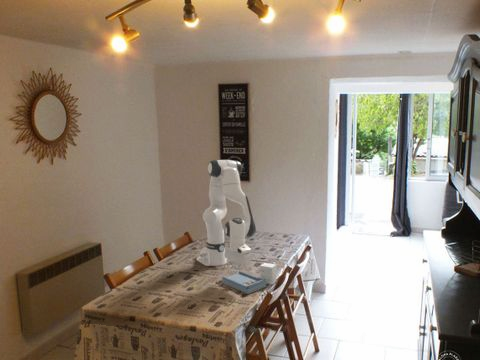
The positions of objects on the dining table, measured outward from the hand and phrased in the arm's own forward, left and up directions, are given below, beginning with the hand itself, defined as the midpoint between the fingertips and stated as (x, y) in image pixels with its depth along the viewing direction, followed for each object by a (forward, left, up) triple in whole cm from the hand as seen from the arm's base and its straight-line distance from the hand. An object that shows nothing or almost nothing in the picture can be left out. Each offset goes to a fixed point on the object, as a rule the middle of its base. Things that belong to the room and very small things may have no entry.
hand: (236, 269), depth 244 cm
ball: (+9, +2, -7) cm, 11 cm away
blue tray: (+4, +2, -9) cm, 10 cm away
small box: (+11, +15, -9) cm, 21 cm away
